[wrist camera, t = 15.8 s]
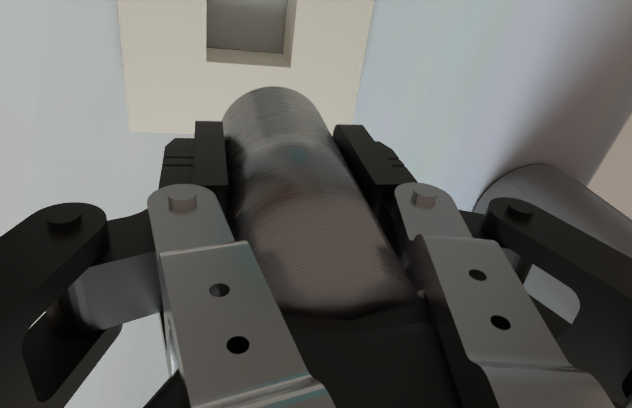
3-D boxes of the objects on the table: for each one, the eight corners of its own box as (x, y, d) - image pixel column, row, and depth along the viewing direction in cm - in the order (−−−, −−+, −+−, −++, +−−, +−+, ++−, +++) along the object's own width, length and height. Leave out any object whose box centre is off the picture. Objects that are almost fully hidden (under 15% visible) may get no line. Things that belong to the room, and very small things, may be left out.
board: (374, -107, 25) (393, -109, 22) (337, 120, 31) (349, 138, 29) (114, -152, 22) (103, -159, 19) (135, 112, 28) (129, 131, 26)
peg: (327, 85, 13) (446, 264, 7) (321, 180, 15) (411, 396, 9) (214, 87, 13) (226, 286, 6) (221, 186, 14) (237, 423, 8)
